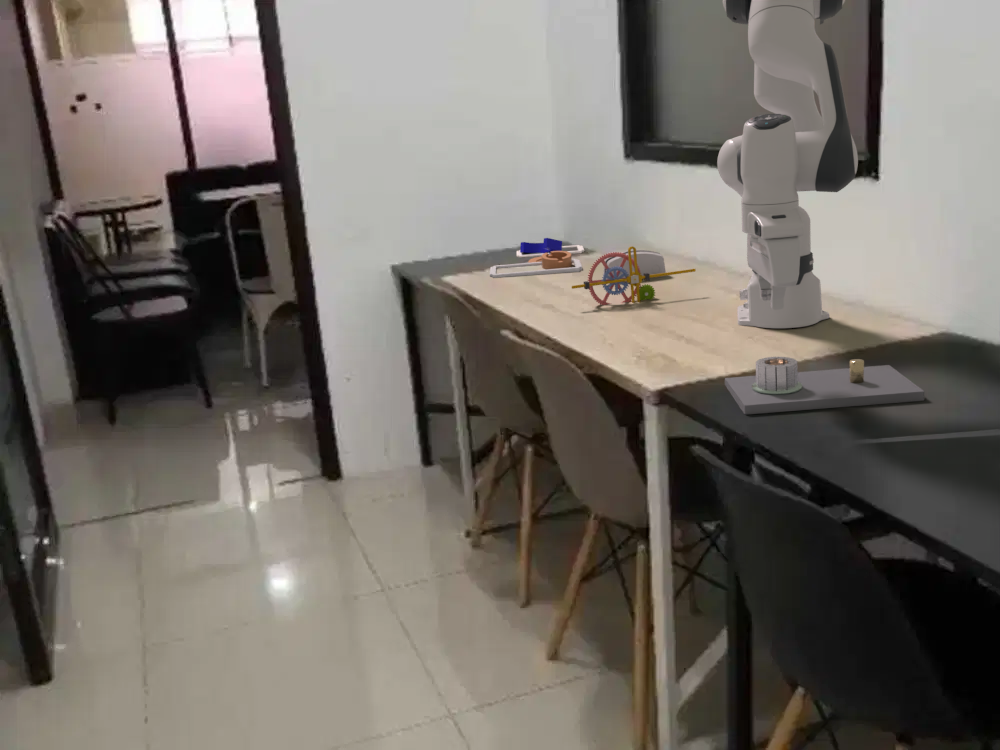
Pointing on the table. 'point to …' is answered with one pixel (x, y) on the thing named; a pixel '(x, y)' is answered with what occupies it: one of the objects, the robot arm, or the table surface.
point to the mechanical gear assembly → (623, 279)
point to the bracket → (554, 260)
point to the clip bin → (580, 250)
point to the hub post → (776, 391)
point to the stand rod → (856, 371)
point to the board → (828, 391)
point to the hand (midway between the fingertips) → (771, 304)
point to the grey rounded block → (639, 263)
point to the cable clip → (541, 246)
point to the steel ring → (776, 374)
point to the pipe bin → (535, 272)
